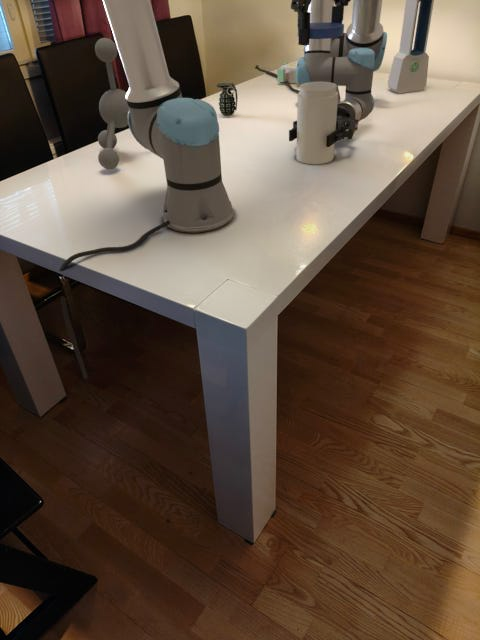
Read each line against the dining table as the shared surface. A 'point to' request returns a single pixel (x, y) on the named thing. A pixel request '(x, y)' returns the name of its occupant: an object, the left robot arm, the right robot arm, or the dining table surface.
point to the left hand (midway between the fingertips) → (320, 41)
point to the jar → (316, 121)
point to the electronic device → (407, 62)
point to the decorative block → (287, 72)
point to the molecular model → (110, 107)
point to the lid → (325, 30)
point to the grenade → (227, 99)
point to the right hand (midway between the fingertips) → (308, 138)
